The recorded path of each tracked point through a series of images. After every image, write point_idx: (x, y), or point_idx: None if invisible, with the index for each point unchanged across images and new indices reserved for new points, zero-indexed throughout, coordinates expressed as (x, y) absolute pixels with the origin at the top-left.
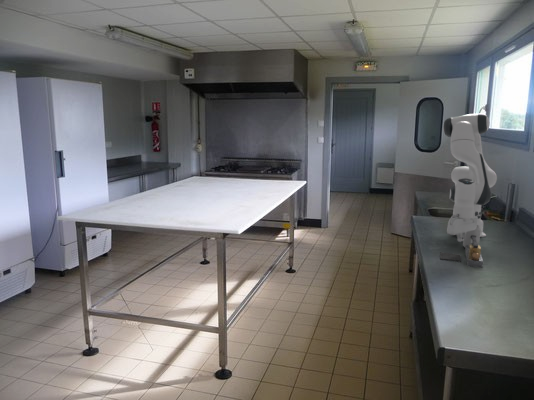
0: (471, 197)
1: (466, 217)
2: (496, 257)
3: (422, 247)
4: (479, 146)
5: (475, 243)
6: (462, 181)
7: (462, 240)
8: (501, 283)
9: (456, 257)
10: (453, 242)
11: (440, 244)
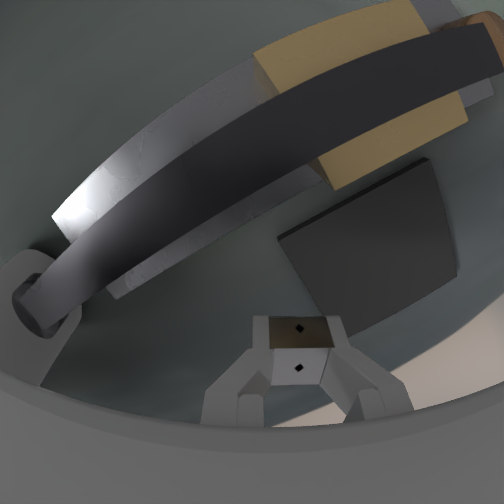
0: None
1: None
2: (71, 61)
3: (294, 415)
4: None
5: (421, 70)
6: None
7: (298, 321)
8: None
9: (380, 220)
10: (75, 370)
11: (161, 397)
